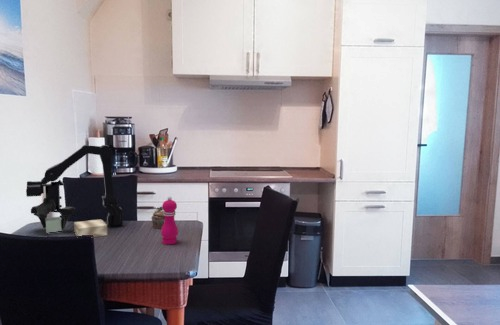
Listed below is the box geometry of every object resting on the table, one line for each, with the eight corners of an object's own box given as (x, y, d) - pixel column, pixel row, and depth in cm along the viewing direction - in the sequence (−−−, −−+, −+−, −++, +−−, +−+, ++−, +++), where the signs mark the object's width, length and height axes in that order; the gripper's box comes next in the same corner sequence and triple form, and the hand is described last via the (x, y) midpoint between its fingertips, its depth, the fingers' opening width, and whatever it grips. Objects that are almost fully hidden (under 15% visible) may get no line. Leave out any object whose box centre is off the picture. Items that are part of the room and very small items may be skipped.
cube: (60, 228, 178) (59, 216, 178) (61, 232, 173) (61, 219, 173) (45, 230, 175) (45, 217, 175) (46, 233, 170) (46, 220, 170)
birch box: (101, 229, 180) (101, 219, 179) (107, 235, 170) (107, 225, 170) (74, 232, 173) (73, 222, 173) (78, 239, 163) (78, 228, 163)
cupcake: (173, 224, 190) (173, 205, 189) (168, 229, 180) (168, 209, 179) (155, 223, 190) (155, 204, 189) (148, 229, 181) (148, 208, 180)
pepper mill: (180, 240, 165) (180, 195, 163) (175, 245, 158) (175, 198, 156) (164, 239, 166) (164, 194, 164) (158, 244, 158) (158, 197, 156)
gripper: (21, 197, 166) (22, 232, 167) (60, 199, 163) (61, 234, 165) (38, 193, 177) (39, 225, 178) (75, 195, 174) (76, 227, 176)
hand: (53, 228), depth 174 cm, fingers open, 9 cm apart
